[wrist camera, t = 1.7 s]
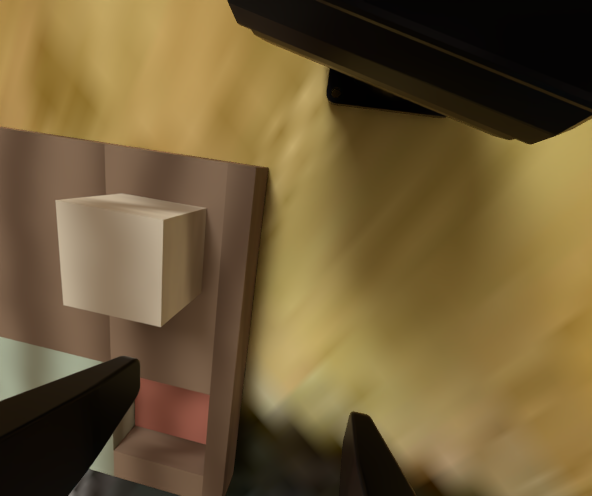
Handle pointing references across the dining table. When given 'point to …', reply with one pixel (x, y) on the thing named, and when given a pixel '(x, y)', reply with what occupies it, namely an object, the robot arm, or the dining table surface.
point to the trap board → (126, 333)
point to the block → (130, 255)
